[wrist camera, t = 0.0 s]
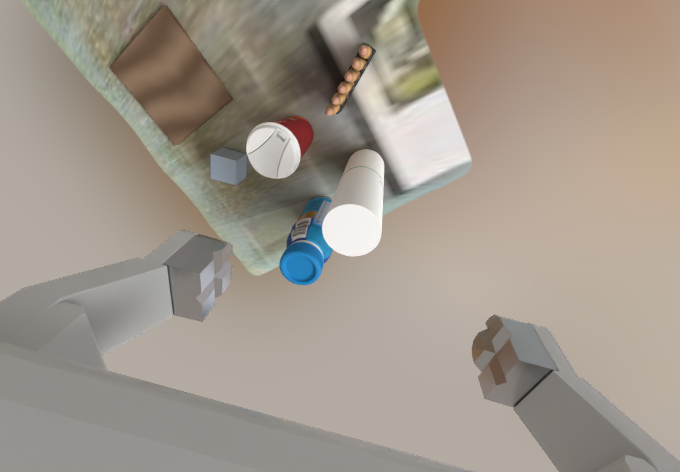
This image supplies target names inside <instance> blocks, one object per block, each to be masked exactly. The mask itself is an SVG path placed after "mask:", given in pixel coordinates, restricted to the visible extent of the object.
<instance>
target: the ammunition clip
mask: <svg viewBox="0 0 680 472" xmlns="http://www.w3.org/2000/svg"><path fill="white" fill-rule="evenodd" d="M375 52H376V50H375V49H373V48H372V47H371V46H369V45H368V44H365V43H363V44H362V46H361V47H360V48H359V52H358V54H357V55H356V57H355V59H353V61H352V65H351V66H350V68H349V70H348V71H347V72H346V74H345V76H344V79H343V81H342V82H341V83H340V85H339V87H338V90H337V92H336V93H335V94H334V96H333V98H332V100H331V103H330V104H329V105H328V107H327V109H326V110H325V114H326V115H327V116H331V115H334V114H338V113H340V112H341V111H342V109H343V107H344V106H345V104H346V102H347V100H348V99H349V97H350V95H351V93H352V92H353V90H354V88H355V87H356V85H357V83H358V81H359V80H360V78H361V76H362V74H363V73H364V71H365V69H366V67H367V66H368V64H369V62H370V61H371V59H372V57H373V55H374V54H375ZM358 55H359V57H358ZM351 67H352V69H351ZM350 69H351V70H350ZM344 80H345V81H344Z"/></svg>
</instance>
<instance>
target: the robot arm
mask: <svg viewBox="0 0 680 472" xmlns="http://www.w3.org/2000/svg"><path fill="white" fill-rule="evenodd" d="M232 255H233V246H232V245H231V243H228V242H225V241H221V240H218V239H214V238H211V237H208V236H204V235H201V234H197V233H193V232H190V231H186V230H180V231H178V232H176V233H175V234H174V235H173V236H171V237H170V238H169V239H167V240H166V241H165V242H164V243H162V244H161V245H160V246H159V247H157V248H156V249H155V250H153V251H152V252H151V253H150V254H148V255H147V256H146V257H144V258H143V259H141V258H134V259H130V260H126V261H123V262H119V263H116V264H111V265H108V266H104V267H100V268H96V269H93V270H89V271H86V272H82V273H78V274H74V275H70V276H66V277H63V278H59V279H55V280H51V281H48V282H44V283H40V284H36V285H33V286H29V287H25V288H22V289H21V290H19V291H17V292H16V293H14V294H12V295H11V296H9V297H7V298H6V299H4V300H2V301H1V302H0V472H475V471H472V470H468V469H464V468H460V467H457V466H453V465H450V464H446V463H442V462H439V461H435V460H431V459H428V458H424V457H420V456H417V455H413V454H409V453H406V452H402V451H398V450H395V449H391V448H388V447H384V446H380V445H377V444H373V443H370V442H366V441H362V440H359V439H355V438H351V437H348V436H344V435H340V434H337V433H333V432H329V431H326V430H322V429H318V428H314V427H311V426H307V425H303V424H300V423H296V422H293V421H289V420H285V419H282V418H278V417H274V416H271V415H267V414H263V413H260V412H256V411H252V410H248V409H245V408H242V407H238V406H234V405H230V404H227V403H223V402H220V401H216V400H212V399H209V398H205V397H201V396H198V395H194V394H191V393H187V392H183V391H180V390H176V389H172V388H169V387H165V386H162V385H158V384H154V383H150V382H147V381H143V380H140V379H136V378H132V377H129V376H125V375H121V374H118V373H114V372H110V371H107V369H106V366H105V363H104V360H103V358H102V355H103V354H105V353H107V352H109V351H110V350H112V349H114V348H116V347H118V346H120V345H122V344H123V343H125V342H127V341H129V340H131V339H133V338H134V337H136V336H138V335H140V334H142V333H144V332H145V331H147V330H149V329H151V328H153V327H155V326H156V325H158V324H160V323H162V322H164V321H166V320H167V319H169V318H171V317H173V315H176V316H181V317H185V318H189V319H193V320H197V321H201V322H202V321H203V320H204V319H205V318H206V316H207V315H208V314H209V312H210V311H211V310H212V308H213V307H214V305H215V298H216V297H218V296H220V295H222V294H223V293H224V291H225V290H226V288H227V287H228V284H229V282H230V280H231V275H232V265H231V263H230V262H229V259H230V257H231V256H232ZM486 327H487V329H486V330H484V331H481V332H479V333H478V334H477V336H476V337H475V339H474V341H473V345H472V357H473V361H474V363H475V365H476V366H477V367H478V368H479V369H480V371H481V373H480V374H479V376H478V378H479V381H480V385H481V388H482V392H483V395H484V399H487V400H490V401H494V402H497V403H501V404H504V405H507V406H511V407H514V411H515V412H516V413H517V415H518V416H519V417H520V419H521V420H522V421H523V423H524V424H525V426H526V427H527V428H528V430H529V431H530V432H531V434H532V435H533V437H534V438H535V439H536V441H537V442H538V443H539V445H540V446H541V447H542V449H543V450H544V451H545V453H546V454H547V455H548V457H549V458H550V460H551V461H552V463H553V464H554V465H555V466H556V468H557V469H558V471H559V472H680V461H679V460H677V459H676V458H675V457H674V456H673V455H671V454H670V453H669V452H668V451H667V450H666V449H665V448H663V447H662V446H661V445H660V444H659V443H658V442H657V441H655V440H654V439H653V438H652V437H651V436H650V435H648V434H647V433H646V432H645V431H644V430H643V429H641V428H640V427H639V426H638V425H637V424H636V423H635V422H633V421H632V420H631V419H630V418H629V417H628V416H626V415H625V414H624V413H623V412H622V411H621V410H619V409H618V408H617V407H616V406H615V405H614V404H612V403H611V402H610V401H609V400H608V399H607V398H606V397H604V396H603V395H602V394H601V393H600V392H599V391H597V390H596V389H595V388H594V387H593V386H592V385H591V384H589V383H588V382H587V381H586V380H585V379H583V378H579V377H578V376H577V374H576V373H575V371H574V369H573V368H572V366H571V365H570V363H569V361H568V360H567V358H566V356H565V355H564V353H563V351H562V350H561V348H560V347H559V345H558V343H557V342H556V340H555V338H554V337H553V335H552V334H551V332H550V331H549V330H548V329H547V328H545V327H542V326H538V325H534V324H530V323H524V322H520V321H516V320H513V319H509V318H505V317H501V316H498V315H493V316H491V317H490V318H489V319H488V320H487V322H486Z"/></svg>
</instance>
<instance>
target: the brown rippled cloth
mask: <svg viewBox="0 0 680 472" xmlns="http://www.w3.org/2000/svg"><path fill="white" fill-rule="evenodd" d="M110 68H111V69H112V71H113V72H114V73H115V74H116V75H117V77H118V78H119V79H120V80H121V81H122V82H123V84H124V85H125V86H126V87H127V88H128V90H129V91H130V92H131V93H132V94H133V96H134V97H135V98H136V99H137V100H138V102H139V103H140V104H141V105H142V106H143V108H144V109H145V110H146V111H147V112H148V114H149V115H150V116H151V117H152V118H153V119H154V121H155V122H156V123H157V124H158V125H159V127H160V128H161V129H162V130H163V131H164V133H165V134H166V135H167V136H168V137H169V139H170V140H171V141H172V142H173V143H174V145H178V144H179V143H181V142H182V141H183V140H184V139H185V138H187V137H188V136H189V135H190V134H191V133H193V132H194V131H195V130H196V129H197V128H199V127H200V126H201V125H202V124H204V123H205V122H206V121H207V120H208V119H210V118H211V117H212V116H213V115H214V114H216V113H217V112H218V111H219V110H220V109H222V108H223V107H224V106H225V105H227V104H228V103H229V102H230V101H231V100H233V98H232V97H231V95H230V94H229V92H228V91H227V90H226V88H225V87H224V85H223V84H222V83H221V81H220V80H219V78H218V77H217V75H216V74H215V73H214V71H213V70H212V68H211V67H210V66H209V64H208V63H207V61H206V60H205V59H204V57H203V56H202V54H201V53H200V51H199V50H198V49H197V47H196V46H195V44H194V43H193V42H192V40H191V39H190V37H189V36H188V34H187V33H186V32H185V30H184V29H183V27H182V26H181V25H180V23H179V22H178V20H177V19H176V18H175V16H174V15H173V13H172V12H171V10H170V9H169V8H168V6H163V7H162V8H161V9H160V10H159V11H158V13H157V14H156V15H155V16H154V17H153V18H152V19H151V21H150V22H149V23H148V24H147V25H146V26H145V28H144V29H143V30H142V31H141V32H140V33H139V34H138V36H137V37H136V38H135V39H134V40H133V41H132V43H131V44H130V45H129V46H128V47H127V48H126V49H125V51H124V52H123V53H122V54H121V55H120V56H119V57H118V59H117V60H116V61H115V62H114V63H113V64H112V66H111V67H110Z"/></svg>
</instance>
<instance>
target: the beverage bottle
mask: <svg viewBox="0 0 680 472" xmlns="http://www.w3.org/2000/svg"><path fill="white" fill-rule="evenodd" d="M331 201H332V199H330V198H327V197H317V198H314V199H312V200H311V201H309V202H308V204H307V205H306V207H305V209H304V211H303V213H302V214H301V216H300V218H299V219H298V221H297V222H296V223H295V224H294V226H293V228H292V230H291V233H290V234H289V236H288V239H287V249H286V250H285V252H284V253H283V255H282V257H281V260H280V270H281V272H282V274H283V276H284V277H285V278H286V279H288V280H289V281H291V282H292V283H295V284H298V285H308V284H311V283H314V282H315V281H316V280H317V279H318V278H319V276H320V274H321V271H322V268H323V265H324V263H325V262H326V261H327V260H328V259H329V258H330V256H331V254H332V250H333V249H332V248H331V247H330V246H329V245H328V244H327V243H326V241H325V239H324V237H323V233H322V224H323V221H324V218H325V216H326V213H327V211H328V209H329V206H330V204H331Z"/></svg>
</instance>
